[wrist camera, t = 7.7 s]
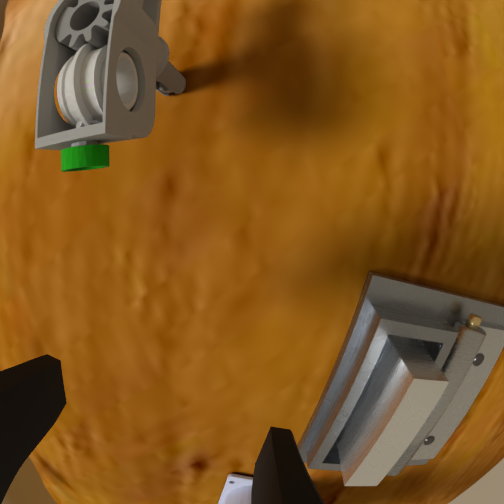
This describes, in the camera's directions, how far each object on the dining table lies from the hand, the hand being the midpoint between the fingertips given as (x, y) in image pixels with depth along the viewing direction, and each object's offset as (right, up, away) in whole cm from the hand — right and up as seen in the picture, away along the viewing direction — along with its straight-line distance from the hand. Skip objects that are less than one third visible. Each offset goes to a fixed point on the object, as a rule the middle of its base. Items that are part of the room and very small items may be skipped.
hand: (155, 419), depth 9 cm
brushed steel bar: (+11, -4, +10) cm, 16 cm away
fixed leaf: (+14, -5, +11) cm, 19 cm away
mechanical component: (-1, +15, +8) cm, 17 cm away
